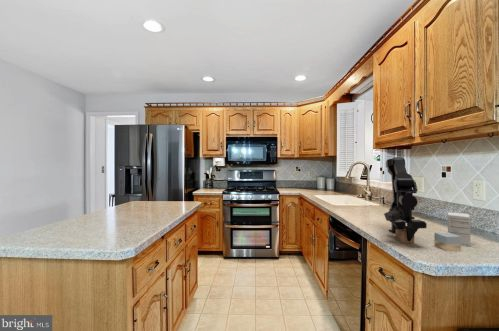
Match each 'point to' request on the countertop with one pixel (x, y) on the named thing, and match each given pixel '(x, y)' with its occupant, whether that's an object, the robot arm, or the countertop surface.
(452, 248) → the tower base
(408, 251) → the countertop surface
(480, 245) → the countertop surface
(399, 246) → the countertop surface
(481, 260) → the countertop surface
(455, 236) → the tower mid
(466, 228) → the supplement box
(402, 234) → the walnut cube
